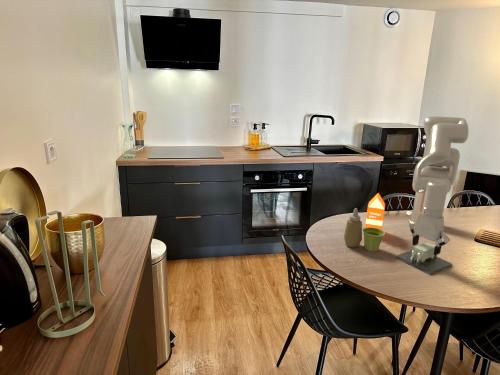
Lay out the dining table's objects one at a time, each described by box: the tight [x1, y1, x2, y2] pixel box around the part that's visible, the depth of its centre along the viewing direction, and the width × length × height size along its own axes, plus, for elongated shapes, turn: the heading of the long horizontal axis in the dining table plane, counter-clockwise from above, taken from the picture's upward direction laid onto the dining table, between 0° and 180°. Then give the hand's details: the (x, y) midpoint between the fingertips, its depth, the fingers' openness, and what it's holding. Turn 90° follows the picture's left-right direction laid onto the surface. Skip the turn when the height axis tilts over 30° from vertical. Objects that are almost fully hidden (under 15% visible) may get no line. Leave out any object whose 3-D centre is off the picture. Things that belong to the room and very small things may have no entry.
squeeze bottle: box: [343, 207, 363, 248], centre depth 158 cm, size 8×8×18 cm
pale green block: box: [413, 241, 436, 260], centre depth 146 cm, size 4×9×4 cm, turn 121°
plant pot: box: [362, 227, 386, 252], centre depth 156 cm, size 9×9×9 cm
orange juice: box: [364, 192, 386, 230], centre depth 172 cm, size 8×9×20 cm
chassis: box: [395, 248, 453, 276], centre depth 146 cm, size 16×15×6 cm
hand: (425, 249), depth 145 cm, fingers open, 9 cm apart
